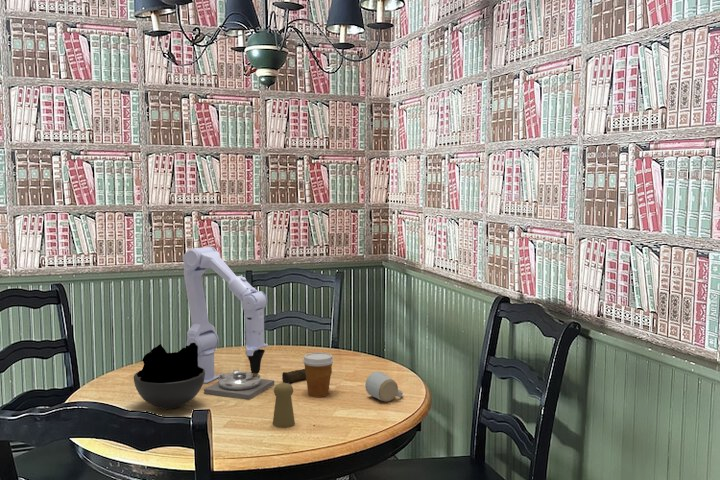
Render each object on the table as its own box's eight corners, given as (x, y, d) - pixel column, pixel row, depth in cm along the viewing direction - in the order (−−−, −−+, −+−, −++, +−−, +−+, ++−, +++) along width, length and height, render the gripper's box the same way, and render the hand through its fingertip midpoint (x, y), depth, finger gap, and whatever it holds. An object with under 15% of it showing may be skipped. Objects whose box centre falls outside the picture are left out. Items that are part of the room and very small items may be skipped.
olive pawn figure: (273, 420, 184) (272, 381, 183) (295, 419, 185) (294, 380, 184) (272, 428, 178) (271, 387, 177) (294, 427, 179) (294, 387, 178)
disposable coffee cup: (309, 400, 201) (309, 361, 200) (298, 391, 210) (298, 353, 209) (338, 396, 205) (338, 357, 204) (326, 387, 214) (326, 350, 213)
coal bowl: (121, 417, 186) (119, 350, 185) (153, 394, 206) (151, 334, 204) (190, 420, 184) (188, 353, 182) (215, 397, 203) (214, 336, 202)
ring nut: (222, 391, 203) (222, 370, 203) (215, 380, 215) (215, 360, 215) (264, 387, 208) (264, 366, 207) (255, 376, 220) (255, 356, 219)
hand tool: (287, 385, 217) (287, 371, 216) (281, 382, 220) (281, 368, 219) (335, 376, 228) (336, 362, 227) (329, 373, 231) (329, 360, 231)
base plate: (204, 393, 207) (203, 388, 207) (231, 379, 222) (231, 374, 222) (249, 399, 201) (249, 394, 201) (274, 384, 216) (274, 379, 216)
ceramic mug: (379, 404, 197) (380, 379, 197) (364, 397, 204) (365, 372, 204) (408, 399, 203) (409, 374, 202) (392, 392, 210) (393, 368, 209)
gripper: (261, 335, 203) (262, 379, 204) (272, 325, 217) (273, 366, 218) (239, 335, 204) (239, 378, 205) (251, 325, 218) (251, 366, 219)
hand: (255, 372), depth 212 cm, fingers closed, pressing on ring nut
